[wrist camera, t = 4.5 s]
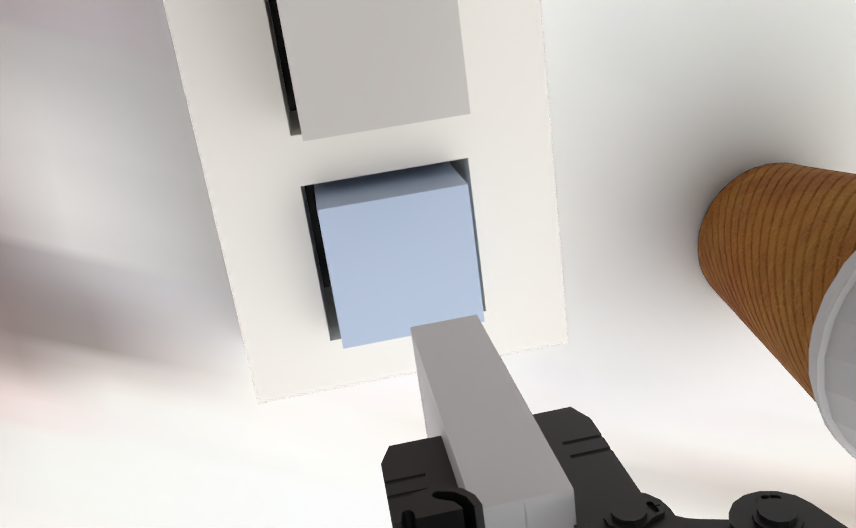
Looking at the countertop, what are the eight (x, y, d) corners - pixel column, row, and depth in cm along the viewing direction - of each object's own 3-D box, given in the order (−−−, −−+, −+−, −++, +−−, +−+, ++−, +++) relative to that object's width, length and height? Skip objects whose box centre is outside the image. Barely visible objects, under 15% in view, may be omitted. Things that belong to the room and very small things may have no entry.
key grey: (414, -57, 26) (449, -67, 21) (433, 86, 28) (470, 113, 22) (272, -37, 26) (268, -42, 20) (299, 108, 27) (302, 141, 22)
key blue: (434, 145, 30) (468, 184, 25) (449, 261, 32) (484, 321, 26) (311, 166, 30) (317, 210, 24) (333, 282, 31) (343, 348, 26)
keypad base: (463, -381, 25) (502, -461, 21) (529, 291, 34) (568, 342, 29) (105, -346, 24) (62, -423, 20) (262, 342, 32) (258, 403, 28)
